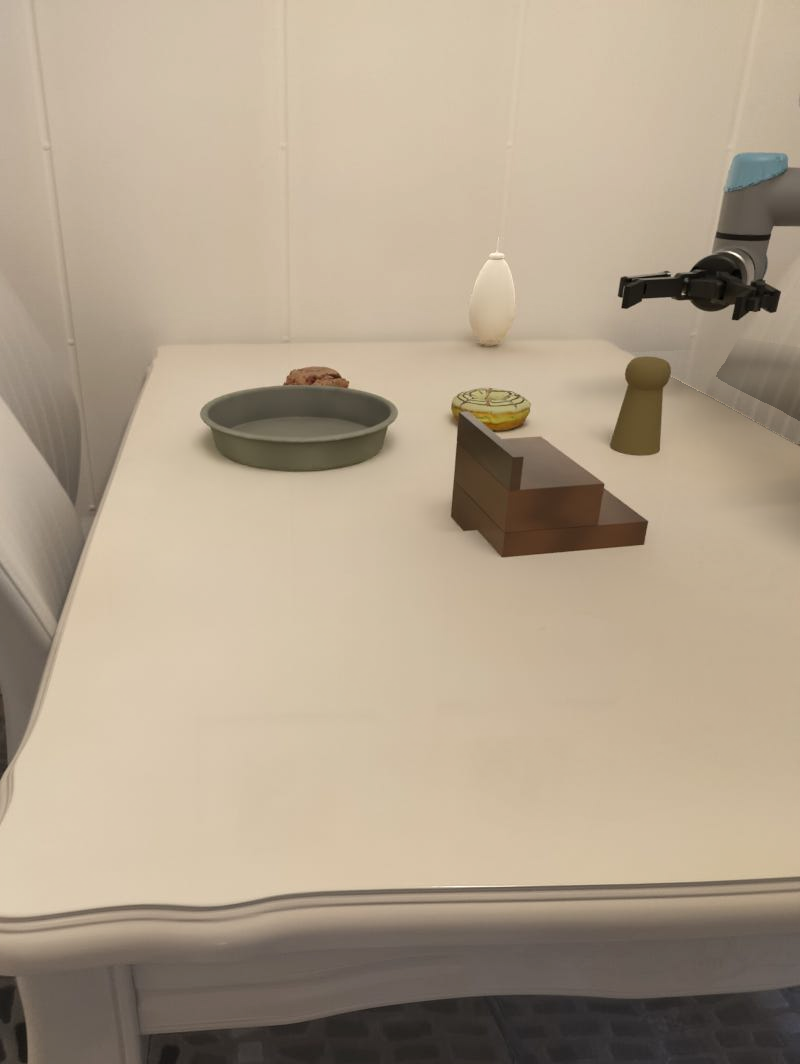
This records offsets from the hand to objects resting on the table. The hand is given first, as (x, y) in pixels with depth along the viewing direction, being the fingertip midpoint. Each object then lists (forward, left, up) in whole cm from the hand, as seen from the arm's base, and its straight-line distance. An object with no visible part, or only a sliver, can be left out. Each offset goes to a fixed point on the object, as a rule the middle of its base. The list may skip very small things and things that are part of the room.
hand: (679, 303), depth 114 cm
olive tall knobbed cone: (+7, +7, -16) cm, 19 cm away
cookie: (+41, -28, -16) cm, 52 cm away
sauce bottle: (+4, -52, -16) cm, 55 cm away
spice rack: (+30, +31, -16) cm, 46 cm away
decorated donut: (+21, -7, -16) cm, 27 cm away
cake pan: (+48, -3, -16) cm, 51 cm away
